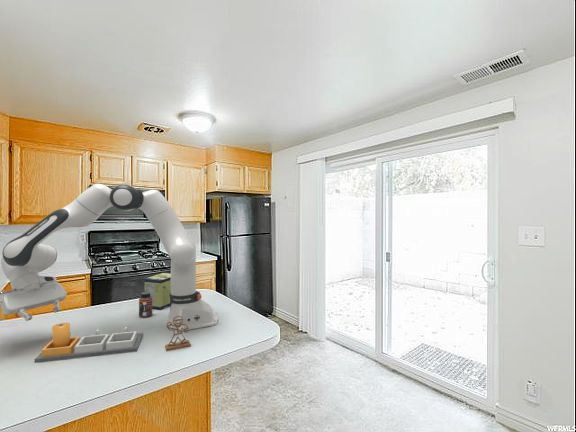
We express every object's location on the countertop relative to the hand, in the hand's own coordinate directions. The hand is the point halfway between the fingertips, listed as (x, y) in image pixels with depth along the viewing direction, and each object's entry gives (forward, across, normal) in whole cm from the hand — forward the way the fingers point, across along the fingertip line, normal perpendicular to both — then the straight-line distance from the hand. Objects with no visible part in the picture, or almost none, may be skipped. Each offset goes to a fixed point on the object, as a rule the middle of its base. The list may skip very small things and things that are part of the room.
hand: (44, 315), depth 117 cm
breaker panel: (+21, +8, -3) cm, 22 cm away
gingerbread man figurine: (+40, +22, -23) cm, 51 cm away
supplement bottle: (+14, +40, +4) cm, 43 cm away
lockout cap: (+15, 0, +1) cm, 15 cm away
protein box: (+10, +56, +8) cm, 58 cm away
